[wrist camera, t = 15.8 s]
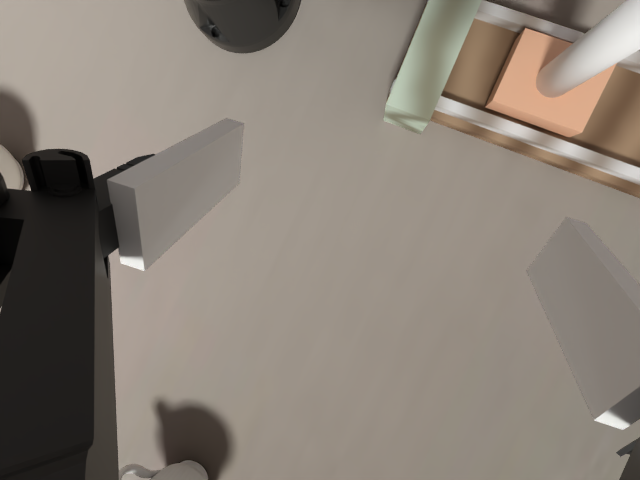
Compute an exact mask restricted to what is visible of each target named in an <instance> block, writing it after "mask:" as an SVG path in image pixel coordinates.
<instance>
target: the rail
mask: <svg viewBox="0 0 640 480" xmlns="http://www.w3.org/2000/svg"><path fill="white" fill-rule="evenodd" d="M525 28H527V29H530V30H533V31H536V32H539V33H542V34H545V35H548V36H551V37H554V38H557V39H560V40H563V41H566V42H569V43H572V44H573V43H574V42H575V41H577V40H578V39H579V38H580V37H582V36H583V35H584V34H585V33H582V32H579V31H576V30H573V29H570V28H567V27H564V26H561V25H558V24H555V23H552V22H549V21H546V20H543V19H540V18H537V17H534V16H531V15H528V14H525V13H522V12H519V11H515V10H512V9H509V8H506V7H503V6H500V5H497V4H494V3H491V2H488V1H485V0H427V3H426V6H425V8H424V11H423V13H422V16H421V18H420V20H419V23H418V25H417V28H416V30H415V33H414V35H413V37H412V40H411V42H410V45H409V47H408V50H407V52H406V55H405V57H404V59H403V62H402V64H401V67H400V69H399V72H398V74H397V76H396V79H394V81H393V84H392V86H391V89H390V94H389V96H388V98H387V102H386V108H385V114H384V121H386V122H389V123H392V124H394V125H397V126H399V127H402V128H405V129H407V130H410V131H413V132H415V133H418V134H421V133H422V131H423V130H424V128H425V127H426V125H427V124H428V122H429V121H430V120H431V121H433V122H436V123H439V124H441V125H444V126H447V127H449V128H452V129H455V130H458V131H460V132H463V133H466V134H468V135H471V136H474V137H476V138H479V139H482V140H484V141H487V142H490V143H493V144H495V145H498V146H501V147H503V148H506V149H509V150H511V151H514V152H517V153H519V154H522V155H525V156H528V157H530V158H533V159H536V160H538V161H541V162H544V163H546V164H549V165H552V166H555V167H557V168H560V169H563V170H565V171H568V172H571V173H573V174H576V175H579V176H581V177H584V178H587V179H590V180H592V181H595V182H598V183H600V184H603V185H606V186H608V187H611V188H614V189H616V190H619V191H622V192H625V193H627V194H630V195H633V196H635V197H638V198H640V51H637V52H635V53H633V54H631V55H630V56H628V57H626V58H625V59H623V60H621V61H619V62H618V63H617V64H616V66H615V68H614V70H613V72H612V74H611V76H610V78H609V80H608V82H607V84H606V86H605V88H604V90H603V92H602V94H601V96H600V98H599V100H598V102H597V104H596V106H595V108H594V110H593V112H592V114H591V116H590V118H589V120H588V122H587V124H586V126H585V128H584V130H583V132H582V133H580V134H577V135H574V136H572V137H566V136H563V135H560V134H558V133H555V132H552V131H549V130H546V129H544V128H541V127H538V126H535V125H533V124H530V123H527V122H524V121H522V120H519V119H516V118H513V117H510V116H508V115H505V114H502V113H499V112H497V111H494V110H491V109H488V108H486V107H485V106H486V104H487V101H488V99H489V97H490V95H491V93H492V90H493V88H494V86H495V84H496V82H497V79H498V77H499V75H500V73H501V71H502V68H503V66H504V64H505V62H506V60H507V57H508V55H509V53H510V51H511V49H512V46H513V44H514V42H515V40H516V38H517V37H518V36H519V35H520V34H521V33H522V31H523V30H524V29H525Z"/></svg>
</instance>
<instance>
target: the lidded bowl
mask: <svg viewBox="0 0 640 480" xmlns="http://www.w3.org/2000/svg"><path fill="white" fill-rule="evenodd" d="M0 173H1V174H2V176H3V178H4V181H5V183H6V186H7V188H9V189H18V190H22V189H23V186H24V173H23V169H22V167H21V165H20V164H19V162H18V161H17V160H16V159H15V158H14V157H13V156H12V155H11V153H10V152H9V151H8V150H7V149H6V148H4V147H3V146H2V145H0Z"/></svg>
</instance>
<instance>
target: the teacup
mask: <svg viewBox="0 0 640 480" xmlns="http://www.w3.org/2000/svg"><path fill="white" fill-rule="evenodd" d="M128 473H131V474H135V475H137V476H139V477H142V478H151V479H150V480H208V475H207V472H206V471H205V469H204V468H203V467H202V466H201V465H200V464H199V463H197V462H195V461H191V460H186V461H182V462H181V463H176V464H171V465H169V466H167V467H165V468H163V469H162V470H157V471H150V470H148V469H146V468H144V467H142V466H140V465H137V464H130V465H127V466H125V467H123V468H122V469H120V470H119V480H121V478H122V476H123V475H124V474H128Z"/></svg>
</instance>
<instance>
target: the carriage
mask: <svg viewBox="0 0 640 480" xmlns="http://www.w3.org/2000/svg"><path fill="white" fill-rule="evenodd" d="M638 50H640V0H626V1H625V2H624V3H622V4H621V5H620V6H619V7H618V8H616V9H615V10H614V11H613V12H611V13H610V14H609V15H608V16H606V17H605V18H604V19H603V20H601V21H600V22H599V23H598V24H597V25H595V26H594V27H593V28H592V29H590V30H589V31H588V32H587V33H585V34H584V35H583V36H582V37H580V38H579V39H578V40H577V41H575V42H574V43H573V44H572V43H569V42H566V41H563V40H560V39H557V38H554V37H551V36H548V35H545V34H542V33H539V32H536V31H533V30H530V29H527V28H525V29H524V30H523V31H522V33H521V34H520V35H519V36H518V37H517V38H516V40H515V42H514V44H513V46H512V49H511V51H510V53H509V55H508V57H507V60H506V62H505V64H504V66H503V68H502V71H501V73H500V75H499V77H498V79H497V82H496V84H495V86H494V88H493V90H492V93H491V95H490V97H489V99H488V101H487V104H486V106H485V107H486V108H488V109H491V110H494V111H497V112H499V113H502V114H505V115H508V116H510V117H513V118H516V119H519V120H522V121H524V122H527V123H530V124H533V125H535V126H538V127H541V128H544V129H546V130H549V131H552V132H555V133H558V134H560V135H563V136H566V137H572V136H574V135H577V134H580V133H582V132H583V130H584V128H585V126H586V124H587V122H588V120H589V118H590V116H591V114H592V112H593V110H594V108H595V106H596V104H597V102H598V100H599V98H600V96H601V94H602V92H603V90H604V88H605V86H606V84H607V82H608V80H609V78H610V76H611V74H612V72H613V70H614V68H615V66H616V64H617V63H618V62H619V61H621V60H623V59H625V58H626V57H628V56H630V55H631V54H633V53H635V52H637V51H638Z"/></svg>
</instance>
